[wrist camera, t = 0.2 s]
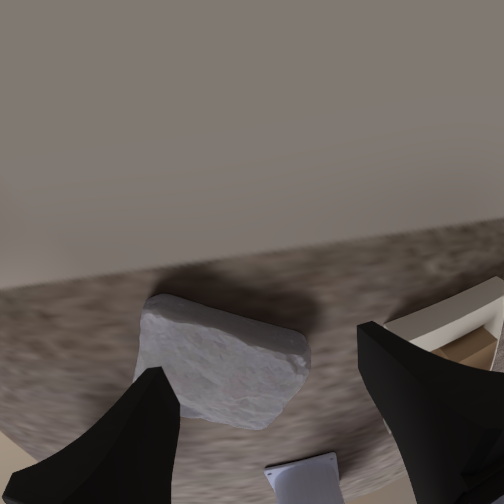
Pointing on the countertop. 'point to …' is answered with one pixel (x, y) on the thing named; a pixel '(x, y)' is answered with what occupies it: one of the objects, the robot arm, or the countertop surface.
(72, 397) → the countertop surface
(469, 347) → the string block
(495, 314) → the frame
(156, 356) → the stone block
